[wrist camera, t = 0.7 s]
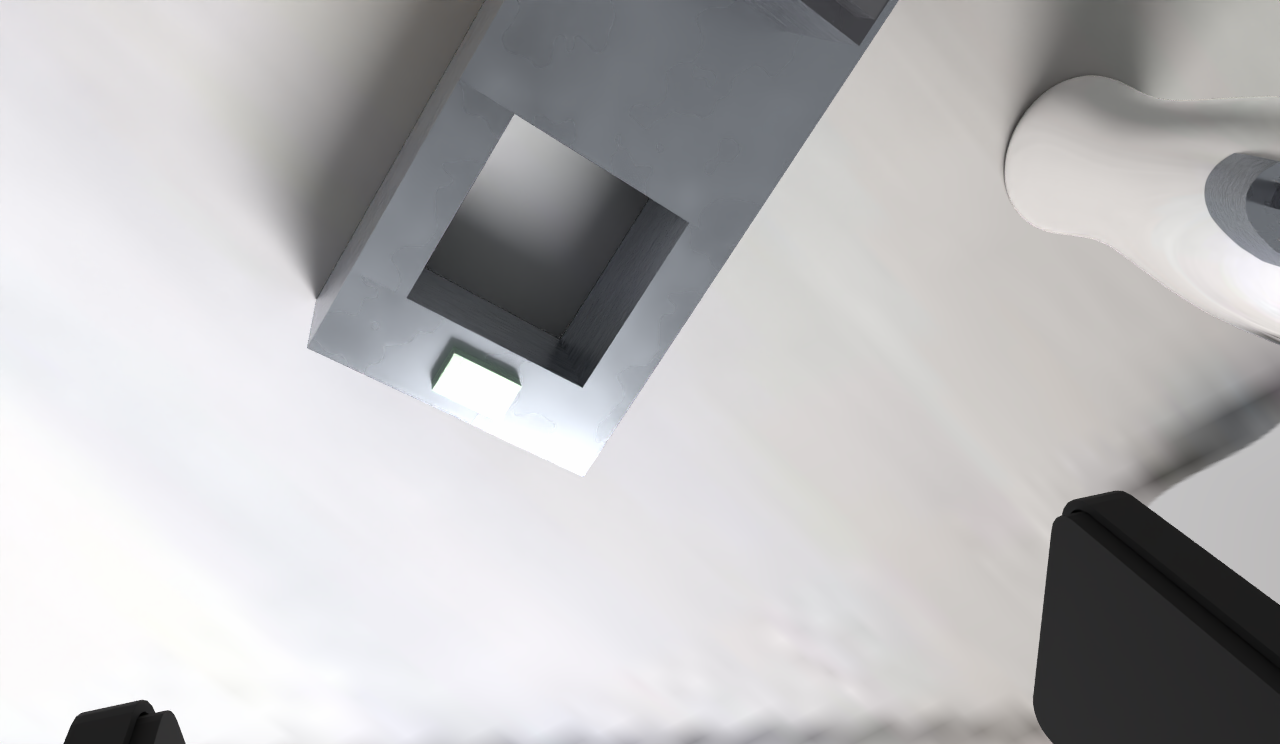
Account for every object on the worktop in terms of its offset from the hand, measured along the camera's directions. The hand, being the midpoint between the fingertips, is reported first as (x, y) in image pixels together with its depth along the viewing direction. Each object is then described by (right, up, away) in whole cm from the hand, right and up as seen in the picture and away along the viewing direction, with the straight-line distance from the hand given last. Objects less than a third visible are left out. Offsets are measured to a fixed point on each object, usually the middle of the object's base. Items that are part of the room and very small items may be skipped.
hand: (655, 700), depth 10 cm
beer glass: (+17, +12, +28) cm, 35 cm away
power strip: (-1, +14, +23) cm, 26 cm away
